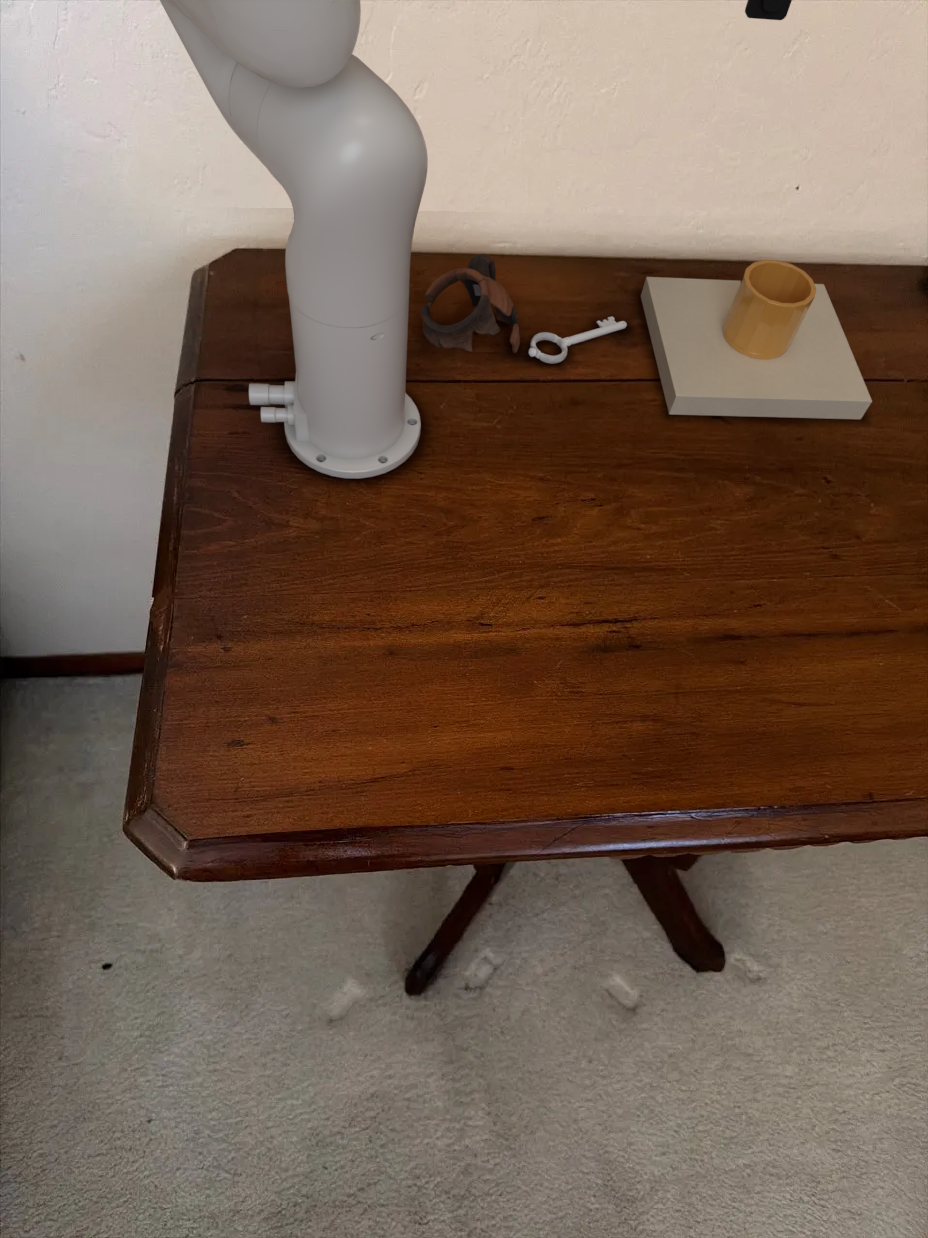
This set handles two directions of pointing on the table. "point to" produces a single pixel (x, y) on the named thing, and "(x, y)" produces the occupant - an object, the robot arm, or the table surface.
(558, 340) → the key
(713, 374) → the board
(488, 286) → the brown grey ring-shaped piece
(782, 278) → the cup
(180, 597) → the table surface
